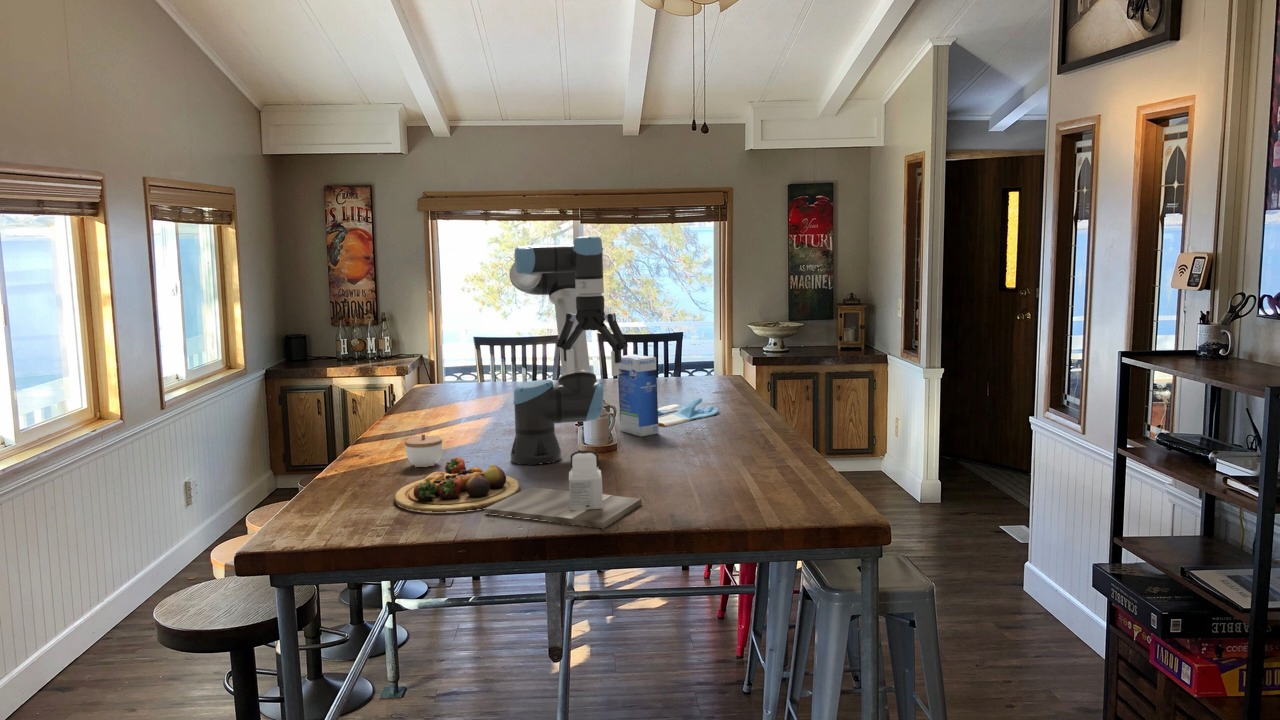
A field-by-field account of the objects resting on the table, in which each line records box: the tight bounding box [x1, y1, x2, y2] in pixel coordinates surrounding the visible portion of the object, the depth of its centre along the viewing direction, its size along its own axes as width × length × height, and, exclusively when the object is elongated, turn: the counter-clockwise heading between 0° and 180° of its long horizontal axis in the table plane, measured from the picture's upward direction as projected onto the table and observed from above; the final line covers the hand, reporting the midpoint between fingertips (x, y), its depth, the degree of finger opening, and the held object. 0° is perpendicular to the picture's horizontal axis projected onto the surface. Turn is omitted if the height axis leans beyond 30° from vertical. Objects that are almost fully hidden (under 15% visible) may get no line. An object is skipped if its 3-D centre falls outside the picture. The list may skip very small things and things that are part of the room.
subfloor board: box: [484, 486, 643, 530], centre depth 219 cm, size 32×20×2 cm, turn 65°
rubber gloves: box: [658, 397, 720, 428], centre depth 333 cm, size 27×33×6 cm
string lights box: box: [617, 353, 660, 437], centre depth 303 cm, size 13×8×26 cm, turn 34°
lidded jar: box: [404, 433, 443, 466], centre depth 267 cm, size 11×11×9 cm
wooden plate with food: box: [393, 456, 521, 512], centre depth 234 cm, size 32×32×8 cm
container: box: [568, 450, 603, 510], centre depth 215 cm, size 8×8×13 cm
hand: (592, 374), depth 243 cm, fingers open, 13 cm apart
